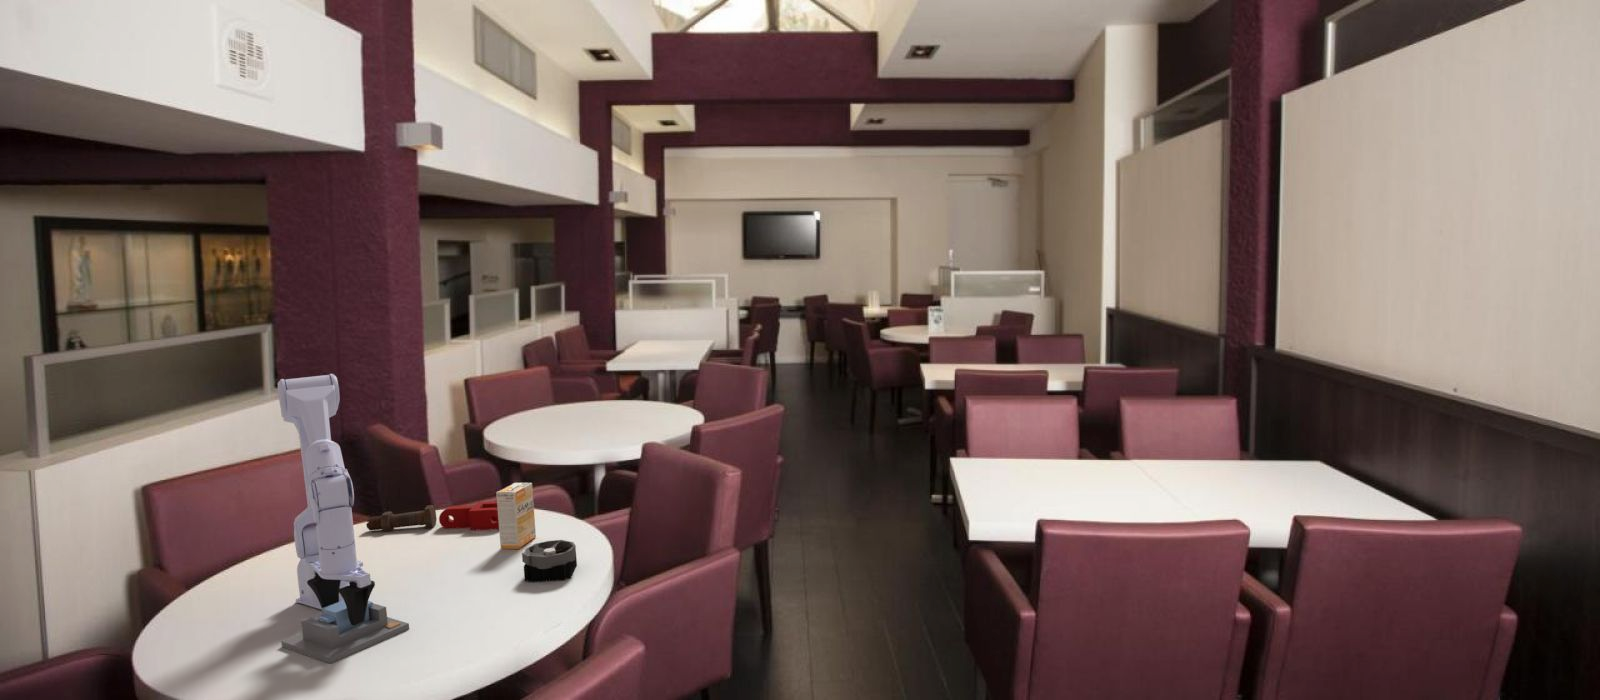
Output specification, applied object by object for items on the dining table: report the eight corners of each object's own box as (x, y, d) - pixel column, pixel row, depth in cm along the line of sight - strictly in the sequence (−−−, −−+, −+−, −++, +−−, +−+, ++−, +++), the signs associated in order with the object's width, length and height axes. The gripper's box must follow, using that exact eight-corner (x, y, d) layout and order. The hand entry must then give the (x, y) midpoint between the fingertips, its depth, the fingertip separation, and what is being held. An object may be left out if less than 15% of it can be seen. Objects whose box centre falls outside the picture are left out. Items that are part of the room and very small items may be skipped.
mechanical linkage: (512, 520, 229) (510, 500, 228) (504, 529, 222) (503, 509, 221) (446, 523, 228) (444, 503, 227) (436, 533, 221) (434, 512, 220)
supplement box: (519, 549, 206) (515, 492, 205) (499, 549, 207) (495, 491, 206) (537, 537, 214) (533, 482, 213) (518, 536, 215) (513, 481, 214)
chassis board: (281, 646, 161) (279, 622, 160) (361, 614, 174) (359, 591, 173) (329, 663, 154) (327, 638, 153) (409, 628, 166) (407, 605, 166)
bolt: (371, 538, 224) (436, 530, 227) (364, 534, 220) (430, 526, 222) (371, 514, 227) (436, 507, 229) (364, 509, 222) (431, 502, 224)
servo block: (318, 638, 161) (315, 607, 161) (362, 620, 168) (359, 590, 168) (332, 643, 159) (328, 611, 158) (376, 624, 166) (373, 594, 166)
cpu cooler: (579, 537, 196) (570, 554, 186) (581, 563, 197) (572, 581, 187) (529, 540, 195) (518, 557, 185) (531, 566, 196) (520, 584, 186)
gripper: (383, 543, 161) (390, 618, 163) (333, 531, 169) (341, 603, 170) (345, 556, 155) (353, 633, 157) (295, 543, 163) (303, 617, 164)
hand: (344, 619), depth 163 cm, fingers open, 7 cm apart
